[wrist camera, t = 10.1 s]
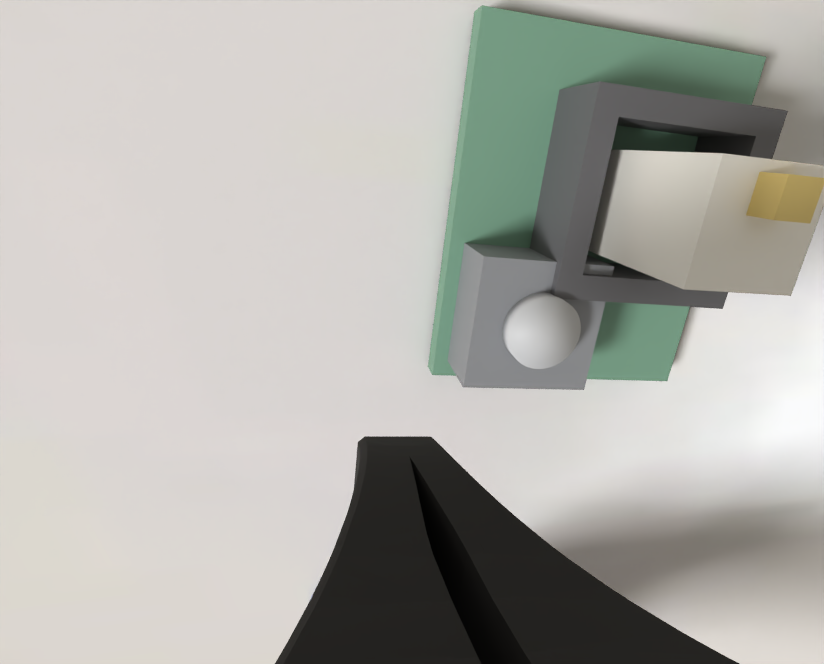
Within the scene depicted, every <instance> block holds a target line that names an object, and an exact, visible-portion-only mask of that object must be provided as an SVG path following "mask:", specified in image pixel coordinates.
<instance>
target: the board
mask: <svg viewBox="0 0 824 664" xmlns="http://www.w3.org/2000/svg"><path fill="white" fill-rule="evenodd" d="M765 60H766V57H765V56H759V55H754V54H748V53H743V52H737V51H732V50H726V49H720V48H715V47H709V46H704V45H698V44H693V43H687V42H682V41H676V40H671V39H665V38H660V37H654V36H649V35H643V34H637V33H632V32H626V31H621V30H615V29H610V28H604V27H599V26H593V25H588V24H582V23H577V22H571V21H566V20H560V19H555V18H549V17H543V16H538V15H532V14H527V13H521V12H516V11H510V10H505V9H499V8H494V7H488V6H483V5H482V6H481V7H480V8H478V9H477V10H476V11H475V12H474V19H473V27H472V34H471V42H470V50H469V57H468V65H467V72H466V80H465V88H464V95H463V103H462V111H461V118H460V126H459V134H458V141H457V149H456V156H455V164H454V172H453V179H452V187H451V195H450V202H449V210H448V217H447V225H446V233H445V240H444V248H443V256H442V263H441V271H440V279H439V286H438V294H437V301H436V309H435V317H434V324H433V332H432V340H431V347H430V355H429V363H428V367H429V369H430V371H431V373H432V375H453V376H457V378H458V379H459V381H460V383H461V384H462V386H463V387H477V388H524V389H572V390H584V387H585V383H586V379H608V380H646V381H667V380H668V376H669V373H670V370H671V367H672V363H673V360H674V357H675V354H676V350H677V347H678V344H679V341H680V337H681V334H682V331H683V327H684V324H685V321H686V318H687V314H688V311H689V308H690V307H703V308H719V309H723V306H724V303H725V300H726V297H727V294H728V292H719V291H702V290H684V289H681V288H679V287H676V286H674V285H671V284H669V283H667V282H664V281H662V280H659V279H657V278H654V277H652V276H649V275H647V274H644V273H642V272H640V271H637V270H635V269H632V268H630V267H627V266H625V265H622V264H620V263H617V262H615V261H613V260H610V259H608V258H605V257H603V256H600V255H598V254H595V253H593V252H590V251H588V250H589V246H590V242H591V237H592V233H593V228H594V224H595V220H596V215H597V211H598V206H599V202H600V198H601V193H602V189H603V184H604V180H605V176H606V171H607V167H608V162H609V158H610V154H611V150H639V151H668V152H698V153H724V154H733V155H741V156H749V157H757V158H766V159H772V157H773V154H774V151H775V148H776V145H777V142H778V139H779V136H780V133H781V130H782V127H783V124H784V121H785V118H786V115H787V112H788V111H786V110H779V109H773V108H766V107H760V106H754V105H752V102H753V99H754V96H755V92H756V89H757V86H758V83H759V79H760V76H761V73H762V70H763V66H764V63H765Z"/></svg>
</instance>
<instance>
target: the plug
mask: <svg viewBox="0 0 824 664" xmlns="http://www.w3.org/2000/svg"><path fill="white" fill-rule="evenodd" d="M823 206H824V166H823V165H815V164H807V163H799V162H790V161H782V160H774V159H766V158H757V157H749V156H741V155H733V154H724V153H698V152H668V151H639V150H611V154H610V158H609V162H608V167H607V171H606V176H605V180H604V184H603V189H602V193H601V198H600V202H599V206H598V211H597V215H596V220H595V224H594V228H593V233H592V237H591V242H590V246H589V250H588V251H590V252H593V253H595V254H598V255H600V256H603V257H605V258H608V259H610V260H613V261H615V262H617V263H620V264H622V265H625V266H627V267H630V268H632V269H635V270H637V271H640V272H642V273H644V274H647V275H649V276H652V277H654V278H657V279H659V280H662V281H664V282H667V283H669V284H671V285H674V286H676V287H679V288H681V289H684V290H702V291H719V292H736V293H753V294H771V295H788V296H791V294H792V291H793V288H794V286H795V283H796V280H797V278H798V275H799V272H800V269H801V267H802V264H803V261H804V258H805V256H806V253H807V250H808V247H809V245H810V242H811V239H812V236H813V234H814V231H815V228H816V226H817V223H818V220H819V217H820V215H821V212H822V209H823Z"/></svg>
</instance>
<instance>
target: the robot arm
mask: <svg viewBox="0 0 824 664" xmlns="http://www.w3.org/2000/svg"><path fill="white" fill-rule="evenodd" d="M275 664H739V663H737V662H735V661H733V660H731V659H729V658H727V657H725V656H724V655H722V654H720V653H718V652H716V651H715V650H713V649H711V648H709V647H707V646H706V645H704V644H702V643H700V642H698V641H696V640H695V639H693V638H691V637H689V636H687V635H686V634H684V633H682V632H681V631H679V630H677V629H676V628H674V627H672V626H671V625H669V624H667V623H666V622H664V621H662V620H661V619H659V618H657V617H656V616H654V615H652V614H651V613H649V612H647V611H646V610H644V609H642V608H641V607H639V606H637V605H636V604H634V603H632V602H631V601H629V600H628V599H626V598H625V597H623V596H622V595H620V594H619V593H617V592H615V591H614V590H612V589H611V588H609V587H608V586H606V585H605V584H603V583H602V582H601V581H599V580H598V579H596V578H595V577H594V576H592V575H591V574H589V573H588V572H586V571H585V570H584V569H582V568H581V567H579V566H578V565H576V564H575V563H574V562H572V561H571V560H569V559H568V558H567V557H565V556H564V555H563V554H561V553H560V552H559V551H557V550H556V549H555V548H553V547H552V546H551V545H549V544H548V543H547V542H546V541H544V540H543V539H542V538H541V537H540V536H538V535H537V534H536V533H535V532H533V531H532V530H531V529H530V528H529V527H527V526H526V525H525V524H524V523H523V522H521V521H520V520H519V519H518V518H517V517H515V516H514V515H513V514H512V513H511V512H510V511H508V510H507V509H506V508H505V507H504V506H503V505H502V504H501V503H499V502H498V501H497V500H496V499H495V498H494V497H493V496H492V495H491V494H490V493H489V492H487V491H486V490H485V489H484V488H483V487H482V486H481V485H480V484H479V483H478V482H477V481H476V480H475V479H474V478H473V477H472V476H471V475H470V474H469V473H468V472H466V471H465V470H464V469H463V468H462V467H461V466H460V465H459V464H458V463H457V462H456V461H455V460H454V459H453V458H452V457H451V456H450V455H449V454H448V453H447V452H446V451H445V450H444V449H443V448H442V447H441V446H440V445H439V444H438V443H437V442H436V441H435V440H434V439H433V438H432V437H364V438H363V439H361V440H360V441H359V442H358V448H357V460H356V472H355V484H354V492H353V496H352V499H351V503H350V506H349V510H348V513H347V516H346V518H345V521H344V524H343V526H342V529H341V532H340V534H339V537H338V540H337V542H336V545H335V548H334V550H333V553H332V555H331V557H330V560H329V562H328V564H327V566H326V569H325V571H324V573H323V575H322V577H321V579H320V581H319V584H318V586H317V588H316V590H315V592H314V594H313V595H312V596H311V599H310V602H309V604H308V606H307V608H306V609H305V611H304V613H303V615H302V617H301V619H300V620H299V622H298V624H297V626H296V628H295V630H294V631H293V633H292V635H291V637H290V639H289V641H288V642H287V644H286V646H285V648H284V649H283V651H282V653H281V654H280V656H279V658H278V660H277V661H276V663H275Z"/></svg>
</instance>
